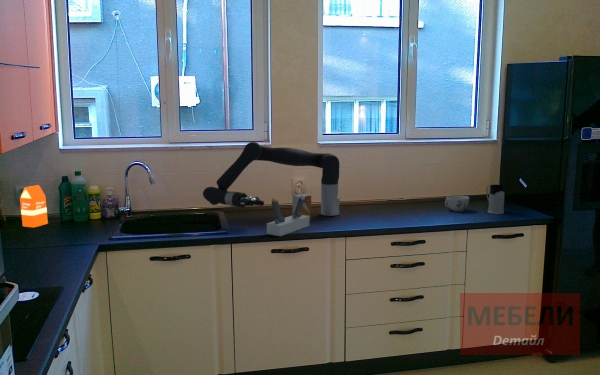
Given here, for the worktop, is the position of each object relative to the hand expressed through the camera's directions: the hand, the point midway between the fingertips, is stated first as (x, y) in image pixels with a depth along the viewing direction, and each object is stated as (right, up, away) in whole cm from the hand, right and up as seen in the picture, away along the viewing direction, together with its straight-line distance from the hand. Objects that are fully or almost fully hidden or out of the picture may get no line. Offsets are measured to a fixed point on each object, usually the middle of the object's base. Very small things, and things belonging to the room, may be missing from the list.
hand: (263, 203), depth 251 cm
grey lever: (+16, -7, +7) cm, 19 cm away
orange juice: (-117, -12, +14) cm, 118 cm away
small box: (+19, -9, +24) cm, 32 cm away
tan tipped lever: (+8, -8, -5) cm, 12 cm away
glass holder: (+126, -6, +42) cm, 133 cm away
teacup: (+106, -6, +44) cm, 115 cm away
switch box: (+12, -13, +2) cm, 18 cm away
